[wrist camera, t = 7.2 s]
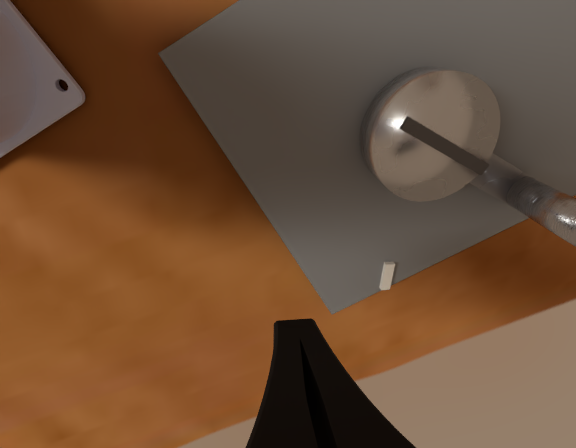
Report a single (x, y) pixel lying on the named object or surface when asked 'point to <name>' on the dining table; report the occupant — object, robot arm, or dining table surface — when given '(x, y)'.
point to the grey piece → (451, 146)
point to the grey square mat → (350, 112)
